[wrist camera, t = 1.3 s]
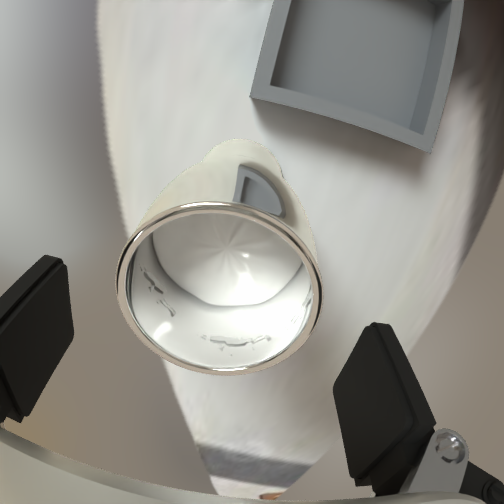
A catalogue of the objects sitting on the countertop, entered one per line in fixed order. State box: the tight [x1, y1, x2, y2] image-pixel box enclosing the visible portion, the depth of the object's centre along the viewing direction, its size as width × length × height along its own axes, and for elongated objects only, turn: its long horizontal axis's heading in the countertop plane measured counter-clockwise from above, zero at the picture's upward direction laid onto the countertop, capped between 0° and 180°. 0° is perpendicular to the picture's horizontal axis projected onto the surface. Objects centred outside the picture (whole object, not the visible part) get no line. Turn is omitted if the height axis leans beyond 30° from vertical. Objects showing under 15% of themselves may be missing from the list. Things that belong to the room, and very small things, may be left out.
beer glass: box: [115, 139, 323, 375], centre depth 16 cm, size 7×7×15 cm
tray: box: [250, 0, 464, 154], centre depth 17 cm, size 13×12×3 cm
